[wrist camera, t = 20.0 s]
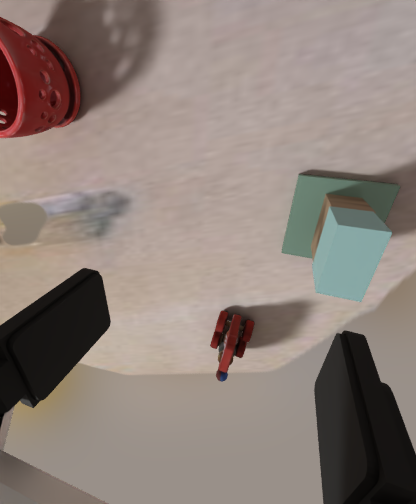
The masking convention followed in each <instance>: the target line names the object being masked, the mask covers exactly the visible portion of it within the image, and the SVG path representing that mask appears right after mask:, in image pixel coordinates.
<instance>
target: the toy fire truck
mask: <svg viewBox="0 0 416 504" xmlns="http://www.w3.org/2000/svg"><path fill="white" fill-rule="evenodd" d="M227 317H228V312H225V311H221V312H220V315H219V318H218V321H217V325H216V329H215V332H214V335H213V338H212V341H211V345H210V346H211V347H212V348H215V349H217V347H218V346H219V355H218V361H219V368H218V371H217V373H216V377H217V379H218V380H219V381H225V380H226V379H227V376H228V374H227V371H228V368H229V365H231V364H232V362H233V357H234V356H236V357H239V358H242V357H243V354H244V351H245V348H246V343H247V342H249V341H250V338H251V336H252V332H253V328H254V322H253V321H250V320H247V321H246V323H245V326H241V325H240V322H241V316H240V315H236V314H234V315H233V318H232V321H231V322H229V321H227ZM225 325H226V326H228V327H230V328H229V331H228V332H227V334H226V335H225V334H222V332H223V330H224V327H225ZM239 330H240V331H243V333H242V337H240V338H239V341H238V343H237V340H238V331H239Z"/></svg>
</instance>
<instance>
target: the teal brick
mask: <svg viewBox="0 0 416 504" xmlns="http://www.w3.org/2000/svg"><path fill="white" fill-rule="evenodd" d="M391 235H392V231H391V230H390V229H389V228H388V227H387V226H386V225H385V224H384V223H383V222H382V220H381V219H380V218H379V217H378V216H377V215H376V214H375V213H374V212H372V211H364V210H356V209H348V208H340V207H332V206H330V207H329V210H328V213H327V217H326V220H325V223H324V227H323V230H322V234H321V237H320V240H319V244H318V247H317V251H316V254H315V257H314V261H313V264H312V269H313V276H314V283H315V290H316V293H320V294H325V295H329V296H334V297H339V298H344V299H349V300H354V301H359V302H361V301H362V299H363V297H364V295H365V293H366V290H367V288H368V286H369V284H370V281H371V279H372V277H373V275H374V272H375V270H376V268H377V266H378V264H379V261H380V259H381V257H382V255H383V252H384V250H385V248H386V246H387V244H388V241H389V239H390V237H391Z"/></svg>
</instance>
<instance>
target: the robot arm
mask: <svg viewBox="0 0 416 504" xmlns="http://www.w3.org/2000/svg"><path fill="white" fill-rule="evenodd" d="M110 322H111V321H110V315H109V310H108V305H107V300H106V295H105V290H104V285H103V280H102V276H101V275H100V274H99V272H98V271H95V270H91V269H87V268H83V269H81V270H80V271H78V272H77V273H75V274H74V275H72V276H71V277H70V278H68V279H67V280H65V281H64V282H62V283H61V284H59V285H58V286H57V287H55V288H54V289H52V290H51V291H49V292H48V293H46V294H45V295H44V296H42V297H41V298H39V299H38V300H36V301H35V302H33V303H32V304H31V305H29V306H28V307H26V308H25V309H23V310H22V311H20V312H19V313H18V314H16V315H15V316H13V317H12V318H10V319H9V320H8V321H6V322H5V323H3V324H2V325H0V504H108V503H106V502H104V501H102V500H100V499H98V498H96V497H94V496H92V495H90V494H88V493H86V492H84V491H82V490H80V489H78V488H76V487H74V486H72V485H70V484H68V483H66V482H64V481H62V480H60V479H58V478H56V477H54V476H52V475H50V474H48V473H46V472H44V471H42V470H40V469H38V468H36V467H34V466H32V465H30V464H28V463H26V462H24V461H22V460H20V459H18V458H16V457H14V456H11V455H10V454H8V453H6V452H4V451H3V450H4V446H5V442H6V437H7V434H8V430H9V426H10V421H11V418H12V414H13V410H14V406H15V405H16V404H17V403H18V402H19V401H21V402H22V403H23V404H25V405H27V406H30V407H32V408H34V407H35V406H36V405H37V404H38V403H39V401H40V400H44V399H45V398H46V397H47V396H48V395H49V394H50V393H51V392H52V391H53V390H54V389H55V388H56V386H57V385H58V384H59V383H60V382H61V381H62V380H63V379H64V377H65V376H66V375H67V374H68V373H69V372H70V371H71V370H72V369H73V367H74V366H75V365H76V364H77V363H78V362H79V361H80V360H81V359H82V357H83V356H84V355H85V354H86V353H87V352H88V351H89V350H90V348H91V347H92V346H93V345H94V344H95V343H96V342H97V341H98V340H99V338H100V337H101V336H102V335H103V334H104V333H105V332H106V331H107V329H108V328H109V326H110ZM315 404H316V416H317V429H318V441H319V453H320V466H321V477H322V490H323V503H324V504H416V454H415V451H414V449H413V446H412V443H411V440H410V438H409V435H408V433H407V430H406V427H405V424H404V422H403V419H402V416H401V414H400V411H399V408H398V405H397V403H396V400H395V397H394V395H393V392H392V391H391V388H390V387H389V386H388V385H387V384H385V383H382V382H381V381H380V378H379V375H378V372H377V369H376V366H375V363H374V361H373V358H372V355H371V352H370V349H369V346H368V343H367V340H366V338H365V336H364V335H362V334H358V333H353V332H349V331H343V332H342V334H339V333H337V334H336V336H335V338H334V340H333V342H332V345H331V347H330V350H329V352H328V354H327V356H326V359H325V361H324V363H323V366H322V368H321V370H320V373H319V375H318V377H317V380H316V382H315Z"/></svg>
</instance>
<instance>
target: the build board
mask: <svg viewBox="0 0 416 504" xmlns="http://www.w3.org/2000/svg"><path fill="white" fill-rule="evenodd" d="M399 189H400V186H399V185H398V184H391V183H381V182H372V181H362V180H353V179H343V178H334V177H324V176H315V175H305V174H299V176H298V180H297V185H296V189H295V194H294V198H293V202H292V207H291V211H290V216H289V220H288V225H287V229H286V234H285V238H284V242H283V247H282V253H285V254H290V255H296V256H301V257H307V258H312V251H311V243H312V240H313V236H314V233H315V229H316V226H317V222H318V219H319V215H320V212H321V208H322V205H323V201H324V198H325V194H333V195H341V196H350V197H358V198H363V199H364V200H365V201H366V202H367V203H368V205H369V206H370V207H371V208H372V209H373V210H374V211H375V212H376V213H375V214H376V215H377V216H378V217H379V218H380V219H381V220H382V222H383V223H385V221H386V219H387V216H388V214H389V212H390V209H391V207H392V205H393V203H394V200H395V198H396V196H397V193H398V191H399ZM312 259H313V258H312Z"/></svg>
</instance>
